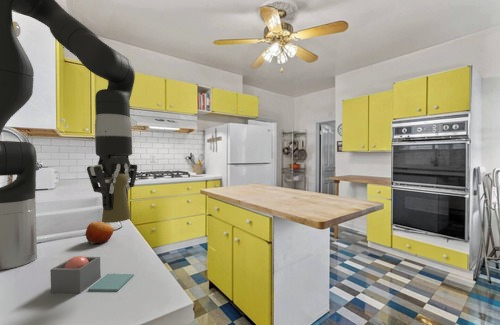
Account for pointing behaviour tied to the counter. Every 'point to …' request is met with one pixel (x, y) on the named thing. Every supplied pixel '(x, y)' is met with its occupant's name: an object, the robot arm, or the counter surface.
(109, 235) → the fruit
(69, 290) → the housing
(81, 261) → the salmon pink ball
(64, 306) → the counter surface
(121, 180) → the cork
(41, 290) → the counter surface
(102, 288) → the tile
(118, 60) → the robot arm
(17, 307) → the counter surface
